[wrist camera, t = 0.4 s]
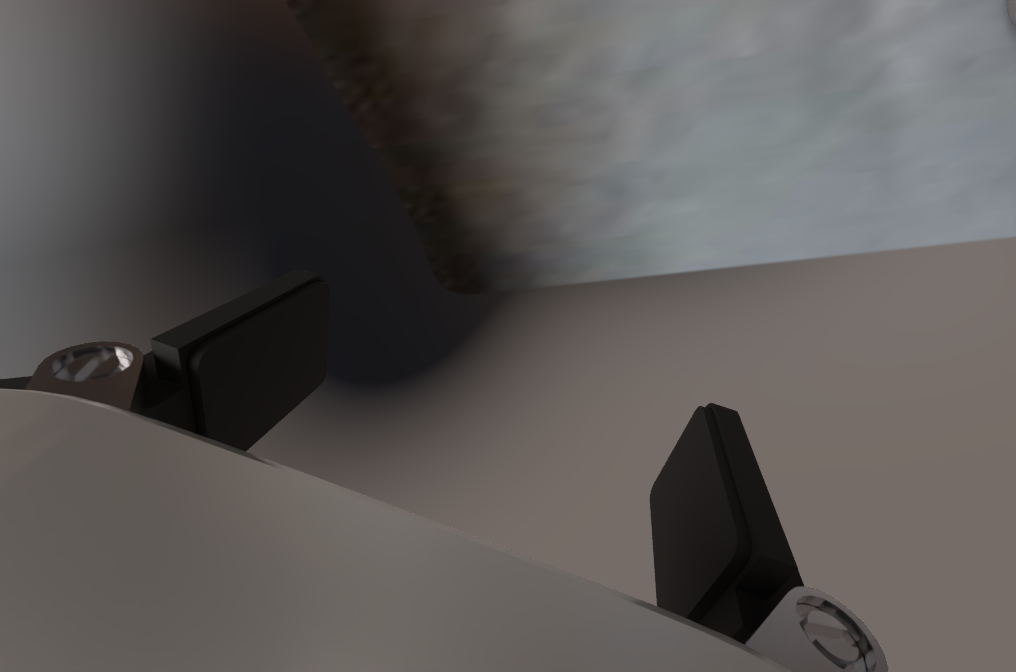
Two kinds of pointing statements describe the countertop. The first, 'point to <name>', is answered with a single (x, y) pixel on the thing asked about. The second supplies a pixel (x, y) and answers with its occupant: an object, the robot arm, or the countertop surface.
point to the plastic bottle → (1012, 10)
